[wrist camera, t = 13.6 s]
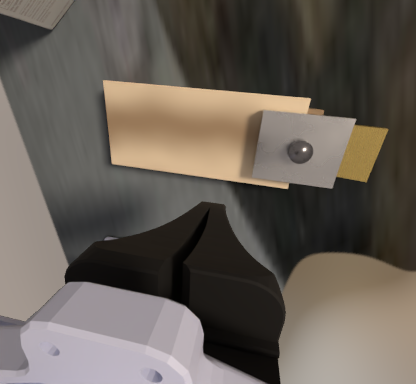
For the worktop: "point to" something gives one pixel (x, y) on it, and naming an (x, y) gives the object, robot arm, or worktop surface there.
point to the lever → (361, 152)
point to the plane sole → (191, 129)
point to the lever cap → (301, 147)
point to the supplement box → (36, 11)
